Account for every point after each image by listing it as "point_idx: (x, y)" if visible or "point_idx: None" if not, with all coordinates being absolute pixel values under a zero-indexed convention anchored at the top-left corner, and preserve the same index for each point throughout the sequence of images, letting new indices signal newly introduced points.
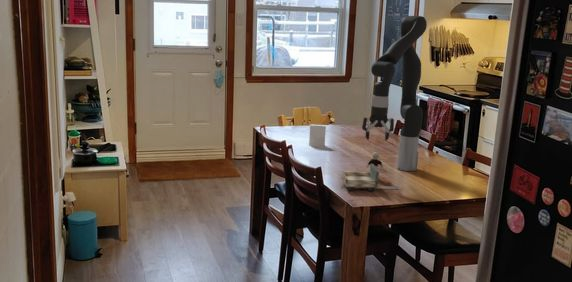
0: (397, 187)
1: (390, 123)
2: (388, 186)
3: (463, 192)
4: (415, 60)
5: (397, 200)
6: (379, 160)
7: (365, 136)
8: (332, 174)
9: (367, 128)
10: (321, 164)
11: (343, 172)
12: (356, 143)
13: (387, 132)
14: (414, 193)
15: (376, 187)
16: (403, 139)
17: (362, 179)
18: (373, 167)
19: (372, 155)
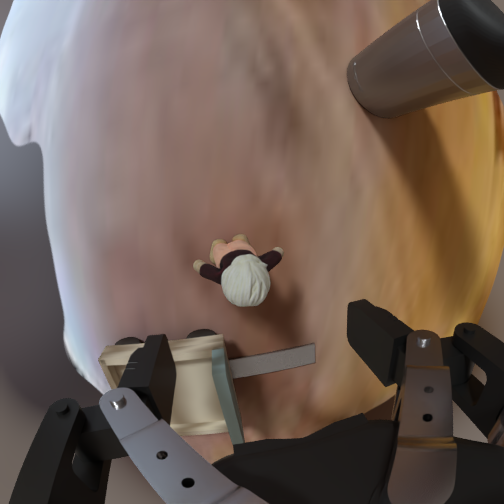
0: (312, 352)
1: (500, 408)
2: (283, 351)
3: (460, 319)
4: None
5: (288, 435)
6: (268, 267)
7: (131, 358)
8: (67, 237)
9: (122, 427)
10: (35, 106)
11: (106, 371)
12: None
13: (398, 386)
14: (350, 378)
15: (238, 371)
16: (450, 59)
17: (185, 394)
18: (226, 419)
19: (223, 288)
